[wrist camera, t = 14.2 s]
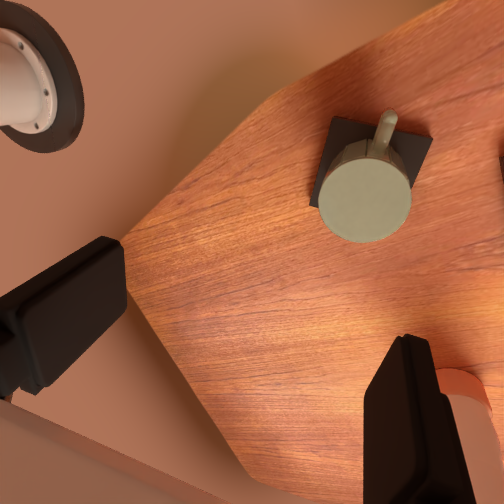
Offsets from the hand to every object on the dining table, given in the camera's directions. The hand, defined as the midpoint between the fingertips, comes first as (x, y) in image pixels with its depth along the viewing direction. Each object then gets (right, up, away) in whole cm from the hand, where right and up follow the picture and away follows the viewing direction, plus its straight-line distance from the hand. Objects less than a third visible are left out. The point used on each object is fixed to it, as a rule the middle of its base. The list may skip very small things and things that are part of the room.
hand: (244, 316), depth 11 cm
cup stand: (+12, +10, +22) cm, 27 cm away
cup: (+12, +11, +20) cm, 25 cm away
